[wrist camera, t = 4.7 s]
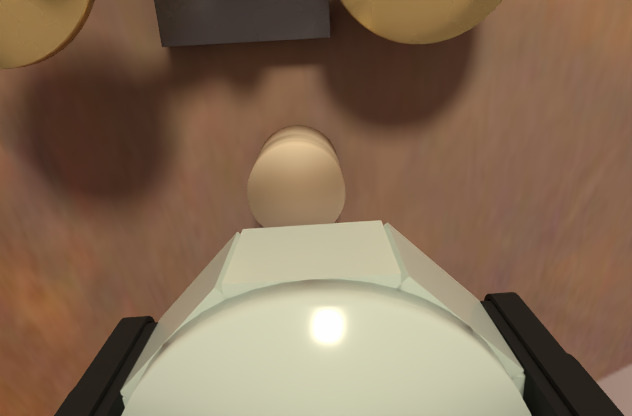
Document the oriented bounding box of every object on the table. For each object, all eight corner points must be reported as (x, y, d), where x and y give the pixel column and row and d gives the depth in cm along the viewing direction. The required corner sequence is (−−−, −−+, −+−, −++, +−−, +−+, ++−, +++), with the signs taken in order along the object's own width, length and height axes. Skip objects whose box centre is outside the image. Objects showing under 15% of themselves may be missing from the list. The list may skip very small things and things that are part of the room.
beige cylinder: (339, 199, 25) (346, 236, 20) (262, 204, 25) (252, 241, 20) (336, 123, 23) (344, 142, 18) (254, 127, 23) (241, 148, 18)
